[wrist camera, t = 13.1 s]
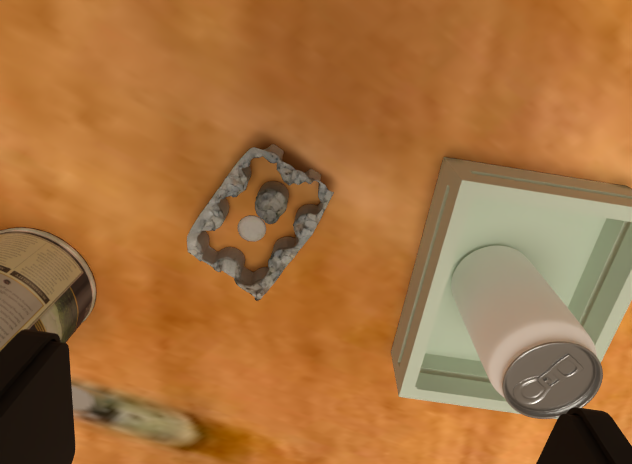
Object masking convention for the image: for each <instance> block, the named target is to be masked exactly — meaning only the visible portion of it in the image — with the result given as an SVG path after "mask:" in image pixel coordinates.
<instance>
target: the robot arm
mask: <svg viewBox="0 0 632 464" xmlns="http://www.w3.org/2000/svg"><path fill="white" fill-rule="evenodd" d="M74 454H75V434H74V419H73V405H72V389H71V375H70V360H69V348H68V345H67V344H66V343H62V342H61V340H60V337H59V335H58V334H56V333H50V332H43V331H36V330H29V329H24V330H21V331H20V332H19V333H17V334H16V335H15V336H14V337H13V338H12V339H11V340H10V341H9V342H8V343H7V345H6V346H5V347H4V348H3V349H2V350H1V351H0V464H71V463H72V461H73V458H74ZM536 464H632V446H631V445H630V443H629V442H628V440H627V439H626V437H625V436H624V435H623V433H622V432H621V430H620V429H619V427H618V426H617V424H616V423H615V422H614V420H613V419H612V417H611V416H610V415H609V414H608V413H606V412H604V411H598V410H591V409H584V408H577V407H573V408H571V409H569V410H568V412H567V413H566V414H562V415H560V416H559V418H558V419H557V422H556V424H555V426H554V428H553V430H552V432H551V434H550V436H549V438H548V440H547V442H546V445H545V447H544V449H543V451H542V453H541V455H540V457H539V459H538V461H537V463H536Z"/></svg>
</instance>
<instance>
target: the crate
mask: <svg viewBox="0 0 632 464" xmlns="http://www.w3.org/2000/svg"><path fill="white" fill-rule="evenodd" d="M488 246H507V247H511V248H513V249H516V250H518V251H519V252H521V253H522V254H523V255H525V256H526V257H527V259H528V260H529V261H530V262H531V263H532V264H533V266H534V267H535V268H536V269H537V270H538V272H539V273H540V274H541V275H542V277H543V278H544V279H545V280H546V282H547V283H548V284H549V285H550V287H551V288H552V289H553V290H554V291H555V293H556V294H557V295H558V296H559V298H560V299H561V300H562V301H563V303H564V304H565V305H566V306H567V308H568V309H569V310H570V311H571V313H572V314H573V315H574V316H575V318H576V319H577V320H578V322H579V323H580V324H581V325H582V327H583V328H584V329H585V331H586V332H587V333H588V335H589V336H590V338H591V339H592V341H593V343H594V345H595V348H596V353H597V358H598V359H599V361H600V363H601V361H602V359H603V357H604V355H605V353H606V351H607V349H608V347H609V345H610V343H611V341H612V339H613V337H614V335H615V333H616V331H617V329H618V327H619V324H620V322H621V320H622V318H623V316H624V314H625V312H626V310H627V308H628V306H629V304H630V302H631V300H632V189H631V188H629V187H627V186H623V185H616V184H610V183H604V182H598V181H591V180H585V179H579V178H573V177H566V176H560V175H554V174H548V173H541V172H535V171H529V170H523V169H517V168H510V167H504V166H498V165H492V164H485V163H479V162H473V161H467V160H460V159H454V158H448V157H443V161H442V165H441V168H440V172H439V176H438V180H437V183H436V187H435V191H434V194H433V198H432V202H431V206H430V209H429V213H428V217H427V220H426V224H425V228H424V232H423V235H422V239H421V243H420V246H419V250H418V254H417V258H416V261H415V265H414V269H413V272H412V276H411V280H410V284H409V287H408V291H407V295H406V298H405V302H404V306H403V310H402V313H401V317H400V321H399V324H398V328H397V332H396V335H395V339H394V343H393V347H392V350H391V355H392V361H393V367H394V372H395V378H396V383H397V389H398V395H399V397H405V398H412V399H419V400H426V401H433V402H440V403H447V404H454V405H461V406H468V407H475V408H482V409H490V410H497V411H504V412H511V413H518V414H521V413H519V412H517V411H516V410H514V409H513V408H512V407H511V406H510V405H509V404H508V402H507V401H506V399H505V398H504V397H503V396H502V395H500V394H499V393H498V392H497V391H496V390H495V388H494V387H493V385H492V384H491V382H490V380H489V378H488V376H487V374H486V371H485V369H484V367H483V365H482V362H481V360H480V358H479V356H478V353H477V351H476V349H475V347H474V344H473V342H472V340H471V337H470V335H469V333H468V330H467V328H466V326H465V323H464V321H463V319H462V316H461V314H460V312H459V309H458V307H457V305H456V302H455V300H454V297H453V294H452V289H451V281H452V276H453V273H454V271H455V269H456V267H457V266H458V265H459V263H460V262H461V261H462V260H463V259H464V258H465V257H466V256H468V255H469V254H471V253H472V252H474V251H476V250H478V249H481V248H484V247H488ZM558 418H559V417H558ZM558 418H553V419H558Z"/></svg>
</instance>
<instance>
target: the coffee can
mask: <svg viewBox="0 0 632 464" xmlns="http://www.w3.org/2000/svg"><path fill="white" fill-rule="evenodd" d="M95 299H96V286H95V281H94V278H93V275H92V272H91V270H90V268H89V266H88V265H87V263H86V262H85V260H84V259H83V258H82V257H81V255H80V254H79V253H78V252H77V251H76V250H75V249H74V248H72V247H71V246H70V245H68V244H67V243H66V242H64V241H63V240H61V239H59V238H58V237H56V236H54V235H52V234H50V233H47V232H44V231H39V230H36V229H32V228H11V229H6V230H2V231H0V351H1V350H2V349H3V348H4V347H5V346H6V345H7V343H8V342H9V341H10V340H11V339H12V338H13V337H14V336H15V335H16V334H17V333H19V332H20V331H21V330H24V329H29V330H36V331H43V332H50V333H56V334H58V335H59V337H60V340H61V342H62V343H66V342H67V340H68V339H69V338H70V337H71V335H72V334H73V333H74V332H75V330H76V329H77V328H78V327H79V326H80V324H81V323H82V322H83V321H85V319H86V318H87V317H88V316H89V314H90V313H91V311H92V309H93V307H94V304H95Z"/></svg>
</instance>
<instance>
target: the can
mask: <svg viewBox="0 0 632 464" xmlns="http://www.w3.org/2000/svg"><path fill="white" fill-rule="evenodd" d="M451 289H452V294H453V297H454V300H455V302H456V305H457V307H458V309H459V312H460V314H461V316H462V319H463V321H464V323H465V326H466V328H467V330H468V333H469V335H470V337H471V340H472V342H473V344H474V347H475V349H476V351H477V353H478V356H479V358H480V360H481V362H482V365H483V367H484V369H485V371H486V374H487V376H488V378H489V380H490V382H491V384H492V385H493V387H494V388H495V390H496V391H497V392H498V393H499V394H500V395H502V396H503V397H504V398H505V399H506V401H507V402H508V404H509V405H510V406H511V407H512V408H513V409H514V410H516V411H517V412H519V413H521V414H523V415H525V416H528V417H532V418H538V419H551V418H558V417H559V416H560V415H562V414H566V413H567V412H568V410H569V409H571V408H573V407H577V408H582V407H583V406H585V405H586V404H587V403H588V402H589V401H591V399H592V398H593V397H594V396H595V395H596V393H597V392H598V390H599V388H600V386H601V383H602V378H603V371H602V366H601V363H600V361H599V359H598V358H597V353H596V348H595V345H594V343H593V341H592V339H591V338H590V336H589V335H588V333H587V332H586V331H585V329H584V328H583V327H582V325H581V324H580V323H579V322H578V320H577V319H576V318H575V316H574V315H573V314H572V313H571V311H570V310H569V309H568V308H567V306H566V305H565V304H564V303H563V301H562V300H561V299H560V298H559V296H558V295H557V294H556V293H555V291H554V290H553V289H552V288H551V287H550V285H549V284H548V283H547V282H546V280H545V279H544V278H543V277H542V275H541V274H540V273H539V272H538V270H537V269H536V268H535V267H534V266H533V264H532V263H531V262H530V261H529V260H528V259H527V257H526V256H525V255H523V254H522V253H521V252H519V251H518V250H516V249H513V248H511V247H507V246H488V247H484V248H481V249H478V250H476V251H474V252H472V253H471V254H469V255H468V256H466V257H465V258H464V259H463V260H462V261H461V262H460V263H459V265H458V266H457V267H456V269H455V271H454V273H453V276H452V281H451Z"/></svg>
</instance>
